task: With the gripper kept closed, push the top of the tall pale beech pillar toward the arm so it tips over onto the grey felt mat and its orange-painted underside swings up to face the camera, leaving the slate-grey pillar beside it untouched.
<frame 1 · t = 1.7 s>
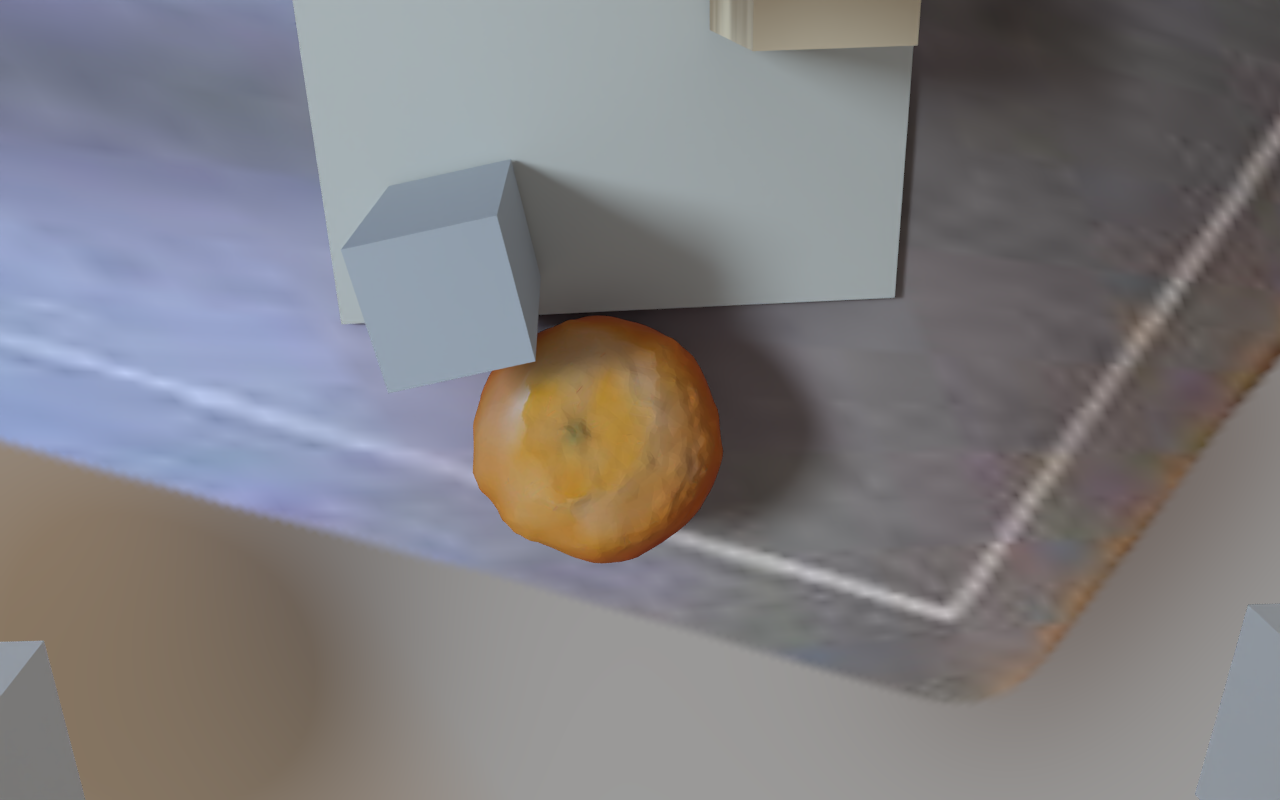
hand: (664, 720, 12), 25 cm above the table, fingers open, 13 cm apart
fruit: (596, 394, 37), on the table
felt mat: (610, 14, 32), on the table
slate block: (467, 231, 34), resting on felt mat
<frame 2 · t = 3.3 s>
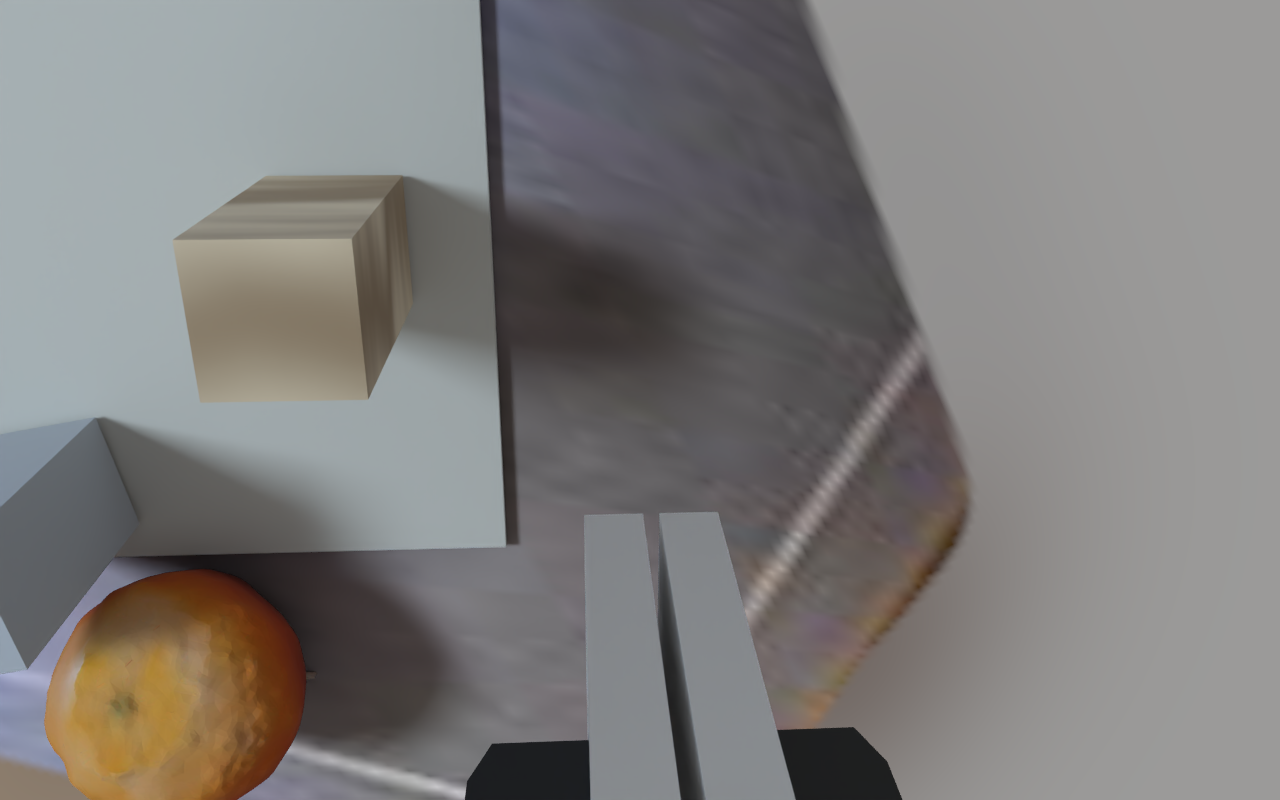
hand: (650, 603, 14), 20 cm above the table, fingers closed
fruit: (219, 624, 37), on the table
felt mat: (188, 285, 32), on the table
beech block: (342, 239, 32), resting on felt mat
slate block: (61, 479, 34), resting on felt mat
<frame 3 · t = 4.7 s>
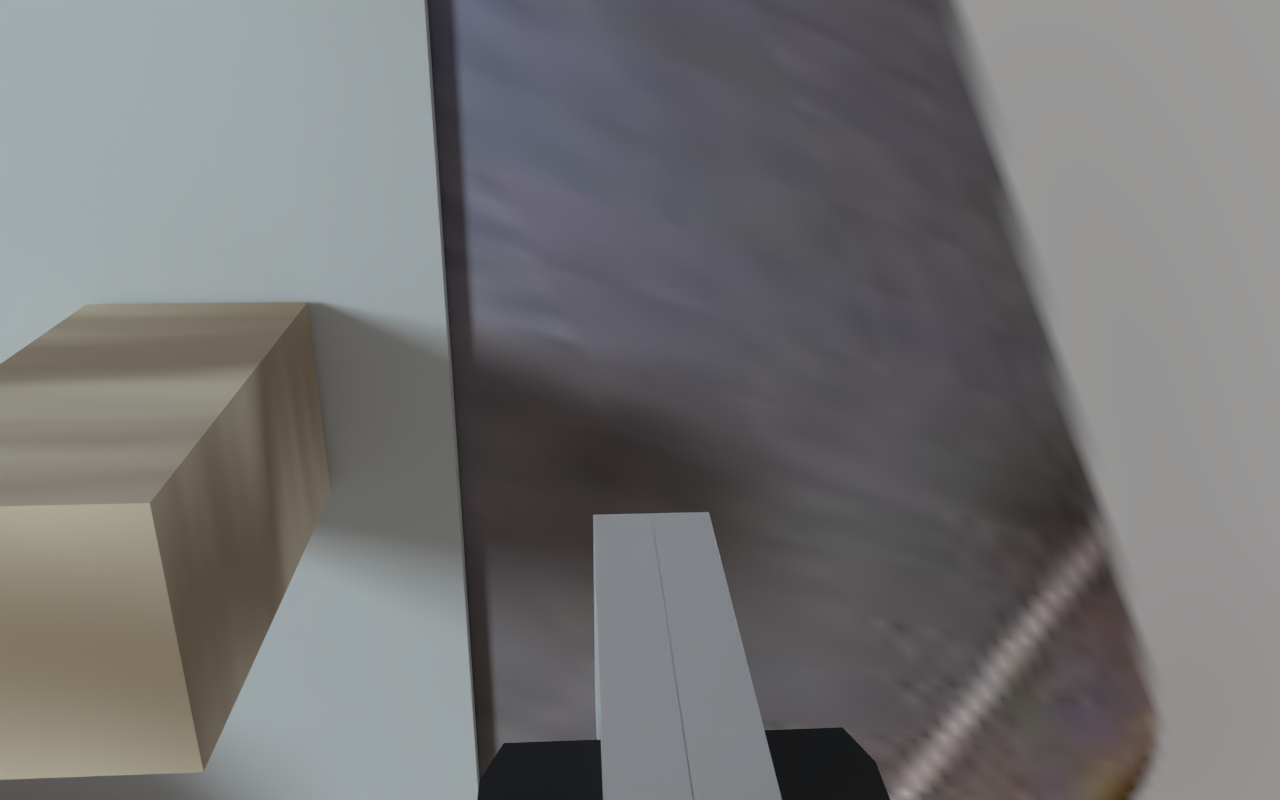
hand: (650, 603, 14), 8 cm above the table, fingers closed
beech block: (217, 398, 20), resting on felt mat
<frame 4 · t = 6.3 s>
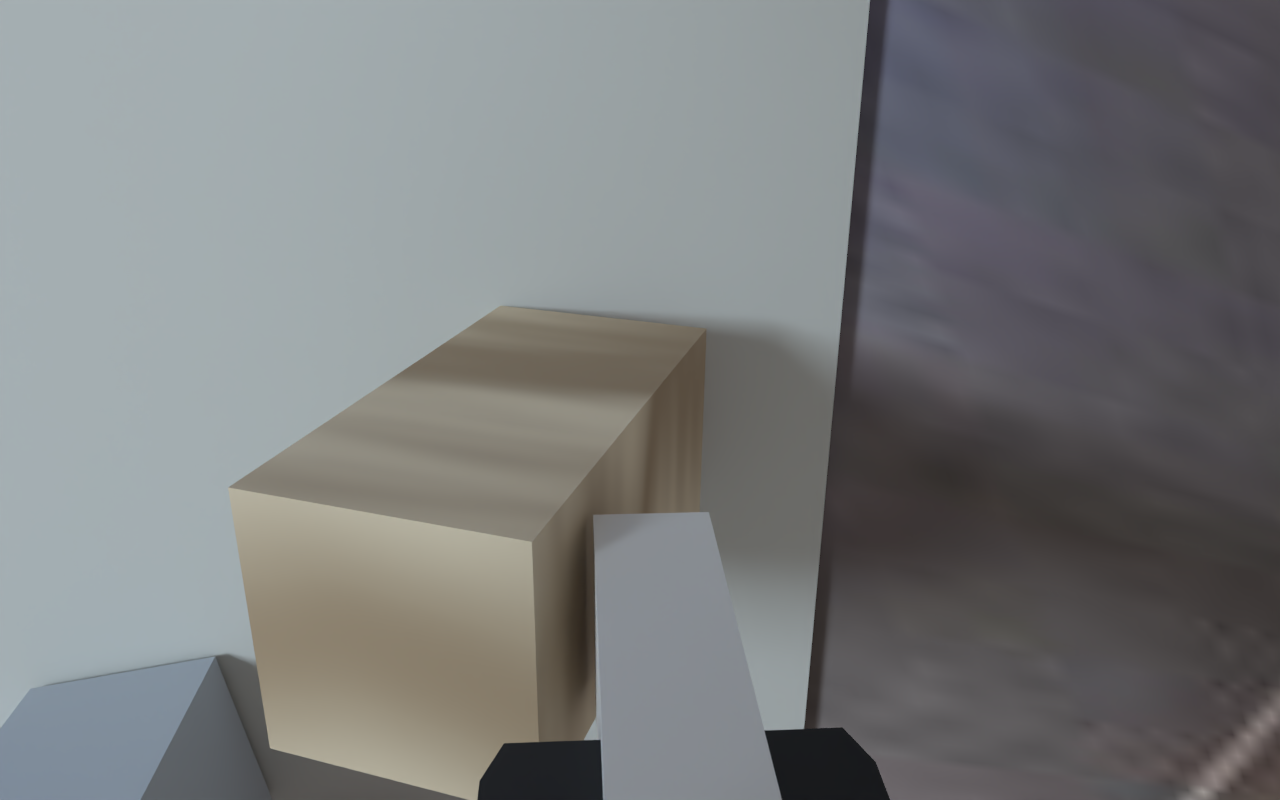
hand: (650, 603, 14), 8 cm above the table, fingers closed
felt mat: (363, 464, 21), on the table
beech block: (604, 413, 20), point 1 cm above the table, tilted 21°, touching felt mat
slate block: (158, 739, 23), resting on felt mat
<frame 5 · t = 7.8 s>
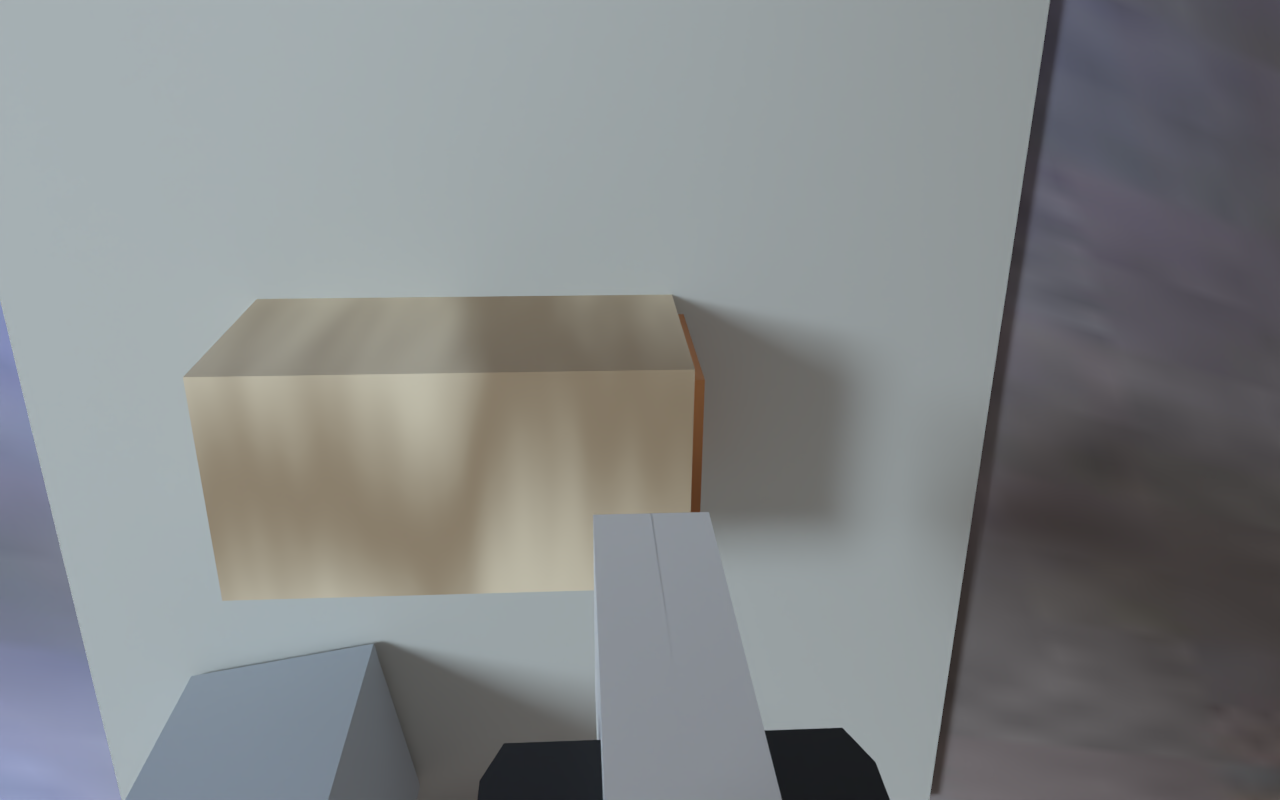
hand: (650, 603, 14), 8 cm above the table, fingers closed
felt mat: (525, 453, 21), on the table
beech block: (690, 432, 19), point 2 cm above the table, tilted 90°, touching felt mat
slate block: (311, 726, 23), resting on felt mat
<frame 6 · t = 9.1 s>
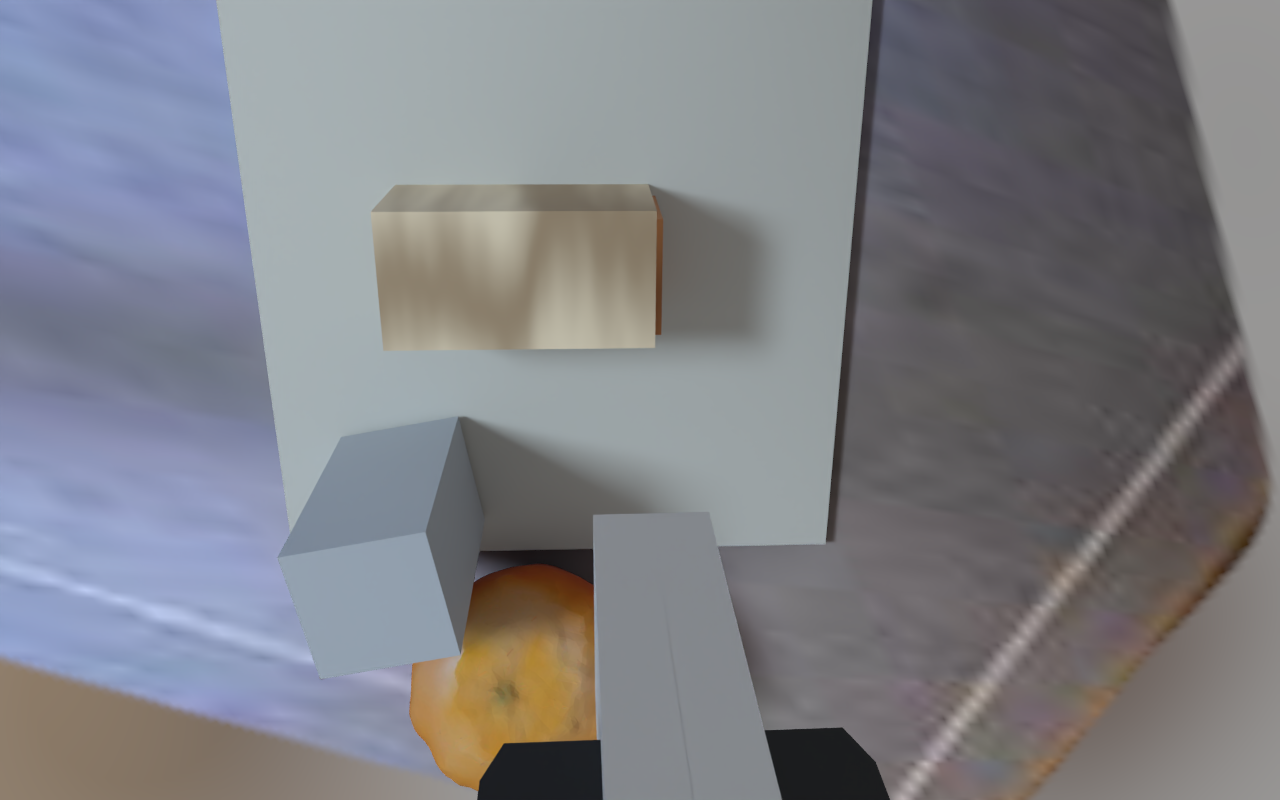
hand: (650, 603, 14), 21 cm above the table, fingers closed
fruit: (538, 618, 39), on the table
felt mat: (556, 289, 34), on the table
beech block: (658, 263, 31), point 2 cm above the table, tilted 90°, touching felt mat
slate block: (415, 476, 35), resting on felt mat
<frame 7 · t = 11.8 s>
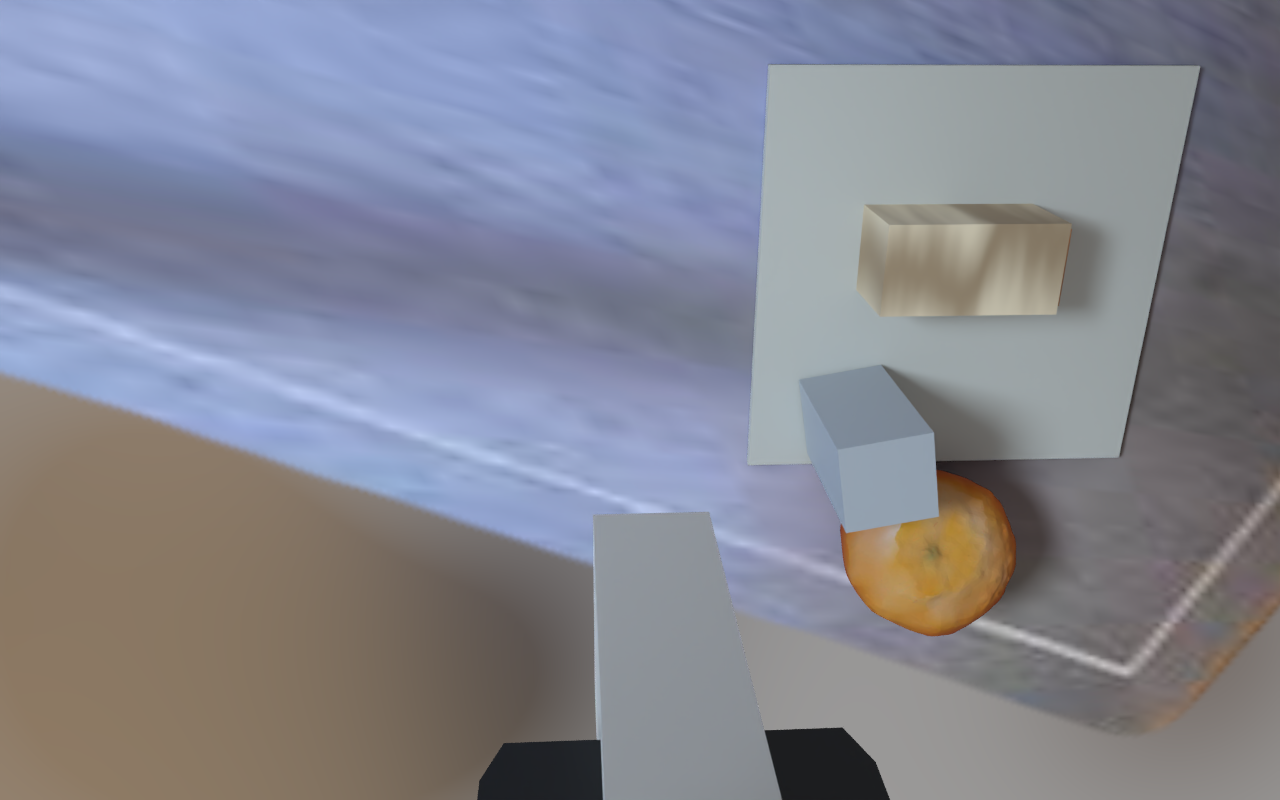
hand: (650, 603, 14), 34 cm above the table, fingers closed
fruit: (904, 513, 54), on the table
felt mat: (956, 276, 48), on the table
beech block: (1048, 257, 46), point 2 cm above the table, tilted 90°, touching felt mat
slate block: (842, 408, 50), resting on felt mat
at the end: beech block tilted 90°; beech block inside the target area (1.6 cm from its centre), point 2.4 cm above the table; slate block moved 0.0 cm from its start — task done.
